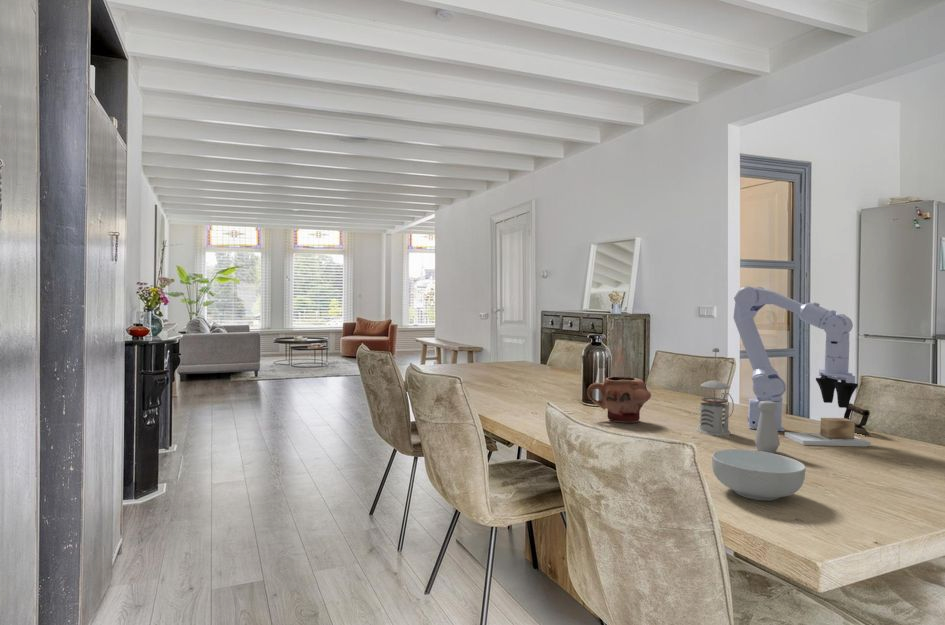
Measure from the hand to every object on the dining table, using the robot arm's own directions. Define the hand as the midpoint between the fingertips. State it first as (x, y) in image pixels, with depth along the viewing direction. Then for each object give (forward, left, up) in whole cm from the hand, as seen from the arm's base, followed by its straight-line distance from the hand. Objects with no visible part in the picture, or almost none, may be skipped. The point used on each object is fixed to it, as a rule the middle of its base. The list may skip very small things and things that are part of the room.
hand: (835, 404), depth 166 cm
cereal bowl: (-24, -63, -10) cm, 68 cm away
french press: (-31, -6, -10) cm, 33 cm away
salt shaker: (-19, -24, -10) cm, 32 cm away
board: (-3, -4, -10) cm, 11 cm away
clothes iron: (+8, +14, -10) cm, 19 cm away
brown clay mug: (-60, -1, -10) cm, 61 cm away
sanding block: (0, -3, -9) cm, 9 cm away
